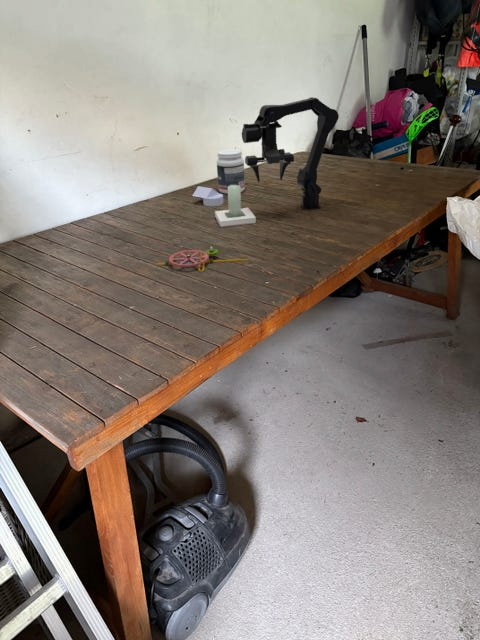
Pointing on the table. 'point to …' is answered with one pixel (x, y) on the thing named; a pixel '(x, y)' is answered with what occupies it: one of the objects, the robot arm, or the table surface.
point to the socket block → (235, 218)
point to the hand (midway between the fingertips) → (269, 181)
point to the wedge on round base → (209, 196)
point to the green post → (234, 201)
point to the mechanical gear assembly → (199, 260)
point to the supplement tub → (230, 170)
